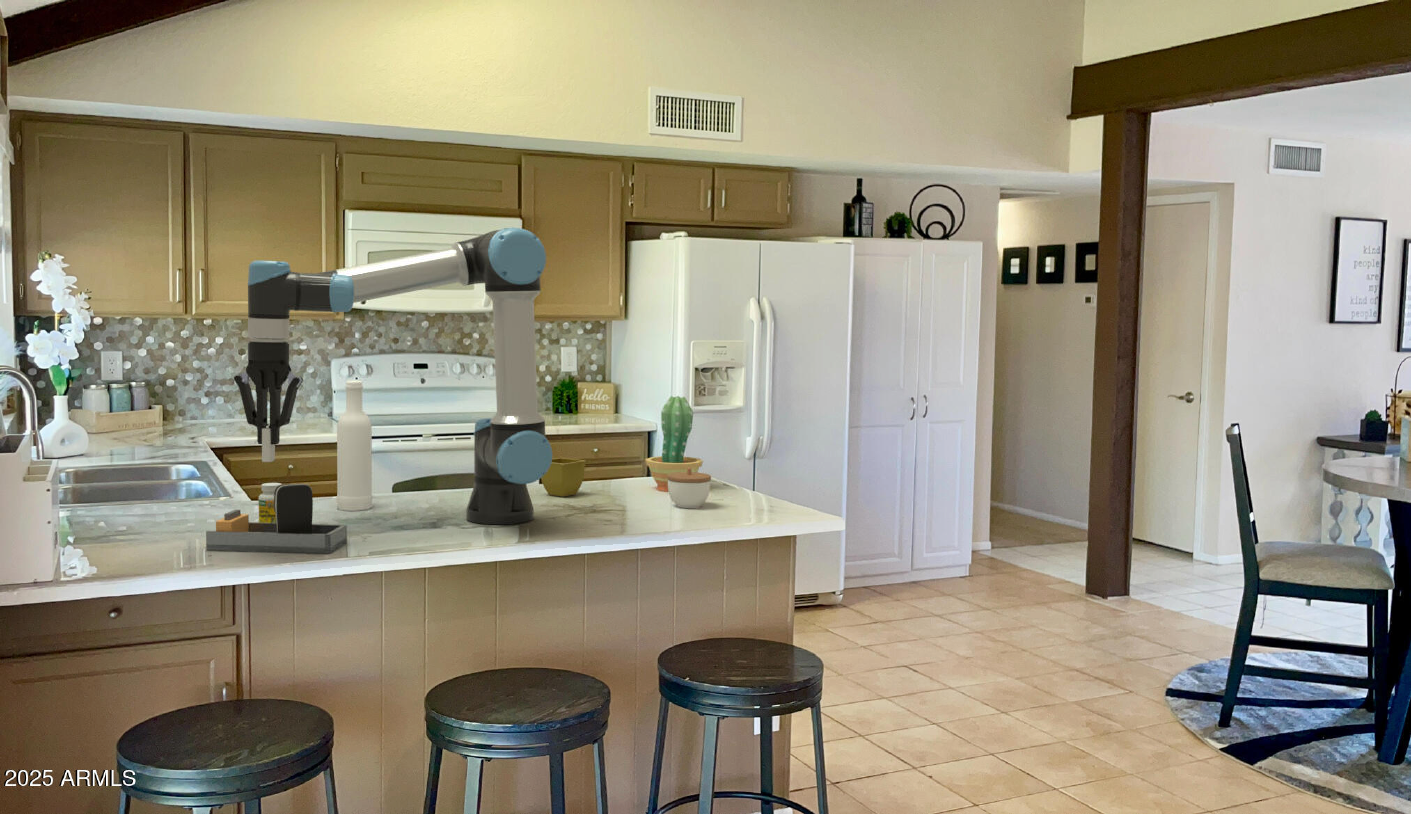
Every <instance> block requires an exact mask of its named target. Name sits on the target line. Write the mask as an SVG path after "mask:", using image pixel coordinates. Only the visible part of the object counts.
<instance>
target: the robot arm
mask: <svg viewBox="0 0 1411 814" xmlns="http://www.w3.org/2000/svg"><path fill="white" fill-rule="evenodd" d="M546 262H547V254H546V250H545V247H544V244H543V243H542V241H541V239H540V238H538V236H537V235H536V234H534V233H533V232H532V231H529V230H527V229H524V228H521V227H504V228H502V229H498V230H497V229H496V230H492V231H488V232H487V233H483V234H481V235H479V236H476V237H472V238H469V239H466V240H462V241H457V242H453V244H452V246H451V247H450V248H444V249H439V250H434V251H427V252H422V253H417V254H412V255H409V256H408V255H407V256H403V257H396V258H391V259H386V260H380V261H375V262H370V263H365V264H360V265H354V266H349V267H343V268H337V269H334V270H327V271H322V272H317V273H316V272H314V273H313V272H295V271H291V268H290V267H291V266H290V263H289V262H286V261H277V260H253V261H252V262H250V263H249V265H248V276H247V277H248V278H247V306H248V307H247V308H248V309H247V310H248V312H247V317H248V318H247V319H248V320H247V338H249V339H251V341H249V343H247V360H248V361H247V362H248V363H247V365H246V367H245V371H244V372H242V373H240V374H237V375H235V376H234V377H233V380H234V382H235V383H236V385H237V386H238V388H239V389H238V390H239V394H240V397H241V401H242V405H243V409H244V413H245V418H246V419H245V420H246V422H247V424H248V425H252V426H254V427H256V430H257V431H256V432H257V433H256V434H257V439H256V440H257V444H258V445H261V462H262V463H270V462H273V461H275V460H276V445H279V444H280V441H281V440H280V436H281V435H280V434H281V433H280V431H281V430H280V429H281V427H283V426H285V425H289V424H290V422H291V418H292V414H293V410H294V405H295V402H296V397H297V394H298V390H299V388H300V386H302V383H303V382H304V378H303V377H302V376H298V375H296V374H295V373H293V372H292V367H291V366H290V343H289V342H288V341H287V340H289V339H290V311H294V312H296V311H297V312H299V311H301V312H306V311H307V312H320V313H321V312H324V313H328V312H329V313H334V314H335V313H348V312H350V311H351V310H352V309H353V307H354V303H356V304H357V303H360V302H366V301H370V300H371V301H372V300H375V299H381V298H386V297H390V296H396V295H401V294H406V293H413V292H417V291H422V290H425V289H432V288H437V287H441V286H447V285H452V284H457V283H459V285H460V284H461V285H462V286H465V287H466V286H470V285H478V284H484V289H485V290H484V291H485V295H486V296H487V297H488V298H490V299H491V300H492V312H493V313H492V315H493V334H494V335H493V340H494V341H493V342H494V343H493V344H494V363H495V364H494V365H495V366H494V368H495V392H496V393H495V394H496V395H495V397H496V414H495V415H494V416H493V417H492V418H480V419H478V420H477V421H476V422H475V423H474V431H473V436H474V439H473V440H474V445H473V446H474V447H473V449H474V453H473V454H474V456H473V457H474V458H473V459H474V460H473V461H474V462H473V463H474V471H473V473H474V474H473V475H474V478H473V480H474V482H473V484H474V485H473V488H472V491H471V494H470V497H469V500H468V503H467V506H466V509H465V510H466V512H465V517H466V521H469V522H472V523H474V524H475V523H476V524H484V525H513V524H514V525H515V524H520V523H521V524H522V523H527V522H530V521H533V519H534V517H535V513H534V511H535V509H534V505H533V502H532V500H531V499H532V498H531V497H530V492H529V489H528V487H527V484H532V483H535V482H537V481H539V480H540V479H541V477H542V476H544V474H545V473H546V472H547V471H548V469H549V467H550V465H551V462H552V459H553V450H552V445H551V443H550V441H549V440H548V438H547V437H546V419H545V418H544V416H542V414H541V413H539V411H538V388H537V386H538V385H537V365H536V364H537V359H536V356H537V355H536V330H535V329H536V328H535V326H536V325H535V303H534V302H535V300H536V298H537V296H538V295H540V294H541V275H542V274H543V272H544V269H545V267H546V265H547V264H546ZM287 379H288V380H287ZM250 380H251V381H252V383H253V384H254V385H255V393H256V405H255V401H254V400H255V399H254V397H253V393H252V388H251V385H250ZM286 381H287V384H288V385H287V388H286V392H285V396H284V400H283V405H281V403H282V402H281V393H282V386H283V385H284V384H285V382H286ZM268 393H269V395H268ZM268 396H269V399H268ZM268 400H269V401H268ZM268 402H269V423H268ZM281 406H282V407H281Z"/></svg>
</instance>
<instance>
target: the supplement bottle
mask: <svg viewBox="0 0 1411 814" xmlns="http://www.w3.org/2000/svg"><path fill="white" fill-rule="evenodd" d="M279 485H283V484H282V483H279V482H266V483H261V492H262V493H260V494H259V495H258V522H259V523H276V513H275V511H274V492H275V489H276V487H277V486H279Z"/></svg>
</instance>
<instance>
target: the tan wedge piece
mask: <svg viewBox="0 0 1411 814" xmlns="http://www.w3.org/2000/svg"><path fill="white" fill-rule="evenodd" d="M223 516H224V517H223V518H220V519H219V520H216V521H215V531H234V532H249V522H250V520H249V516H250V514H247V513H246V514H245V513H243V514H242V513H241V509H233V510H231V511H228V512H226V513H224V515H223Z"/></svg>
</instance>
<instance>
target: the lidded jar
mask: <svg viewBox="0 0 1411 814" xmlns="http://www.w3.org/2000/svg"><path fill="white" fill-rule="evenodd" d="M667 479H668V495H669V498H670V499H671V502H672V503H673V504H675V506H676V507H677V508H680V509H698V508H699V509H700V508H701V507H702V505H703V504H704V503H705V502H706V501H707V499H708V497H709V494H710V490H711V480H712V476H711V475H710V474H708V473H706V472H705V473H704V472H691V468H688V469H687V472H676V473H670V474H668V475H667Z"/></svg>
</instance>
